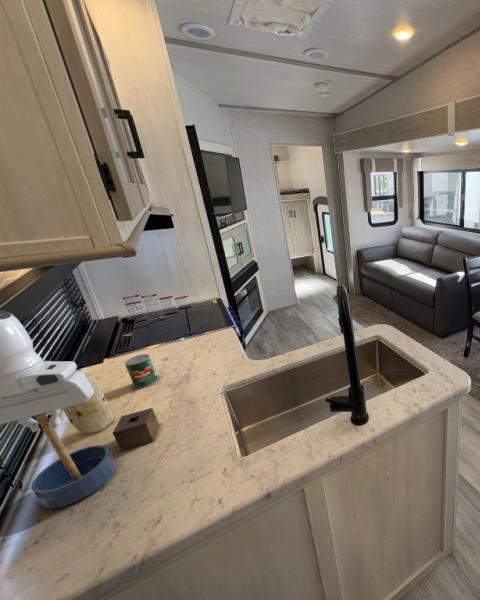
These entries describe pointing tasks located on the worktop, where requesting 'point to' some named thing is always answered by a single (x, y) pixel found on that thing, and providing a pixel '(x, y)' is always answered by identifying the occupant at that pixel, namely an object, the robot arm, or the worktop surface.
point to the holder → (136, 429)
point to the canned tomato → (141, 371)
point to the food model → (90, 411)
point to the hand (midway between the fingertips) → (47, 427)
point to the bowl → (60, 486)
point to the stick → (58, 446)
